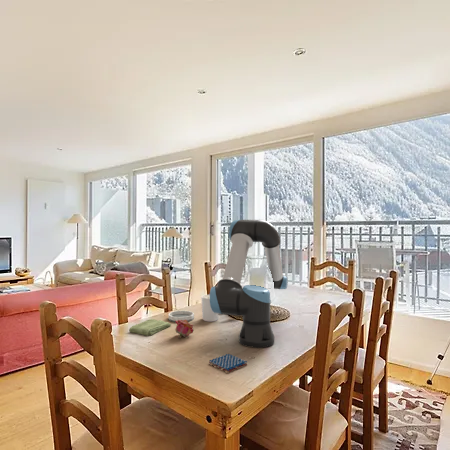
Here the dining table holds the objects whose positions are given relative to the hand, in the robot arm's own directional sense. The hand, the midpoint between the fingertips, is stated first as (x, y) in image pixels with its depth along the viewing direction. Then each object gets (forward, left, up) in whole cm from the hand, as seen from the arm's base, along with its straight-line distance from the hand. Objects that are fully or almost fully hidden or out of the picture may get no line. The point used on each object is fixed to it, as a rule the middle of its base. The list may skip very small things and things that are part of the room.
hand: (215, 305), depth 178 cm
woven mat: (-55, -23, -7) cm, 60 cm away
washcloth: (-28, +23, -7) cm, 37 cm away
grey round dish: (-8, +17, -6) cm, 19 cm away
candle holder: (-4, +2, -7) cm, 8 cm away
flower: (-33, +4, -7) cm, 33 cm away
